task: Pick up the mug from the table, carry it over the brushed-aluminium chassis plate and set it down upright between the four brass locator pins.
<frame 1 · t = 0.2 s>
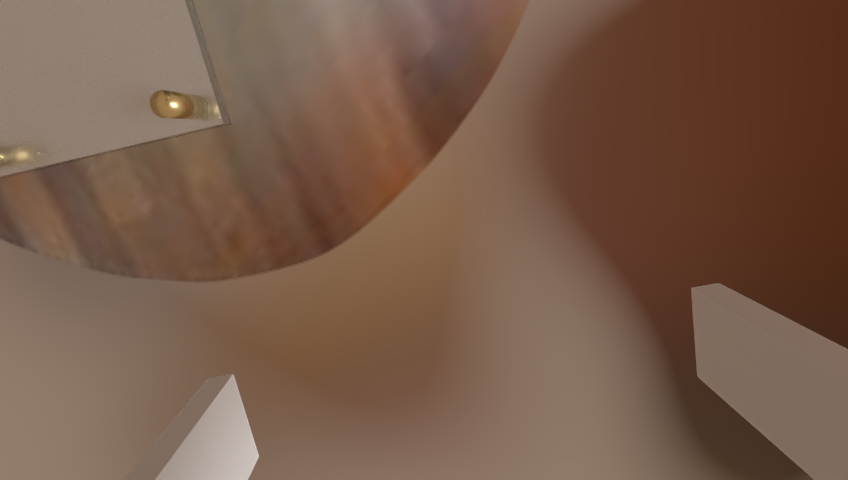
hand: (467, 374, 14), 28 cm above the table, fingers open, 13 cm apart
chassis: (73, 48, 37), on the table
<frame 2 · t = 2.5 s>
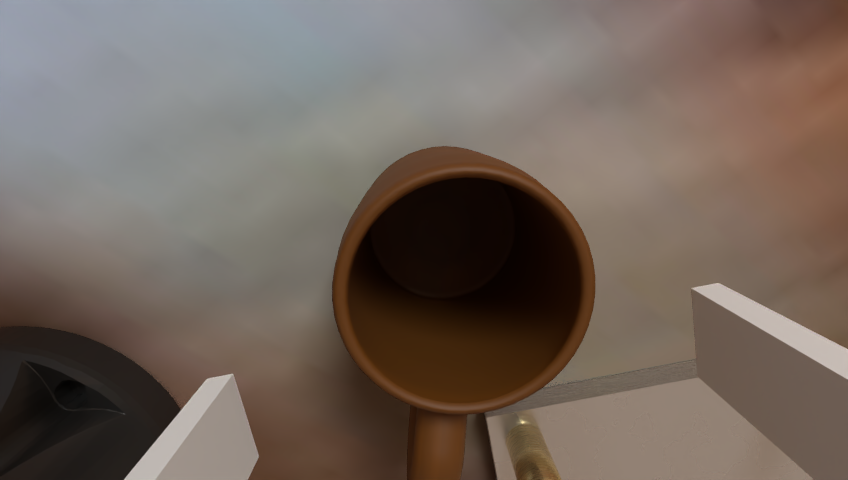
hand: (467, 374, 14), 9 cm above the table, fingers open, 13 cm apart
mug: (436, 272, 23), on the table
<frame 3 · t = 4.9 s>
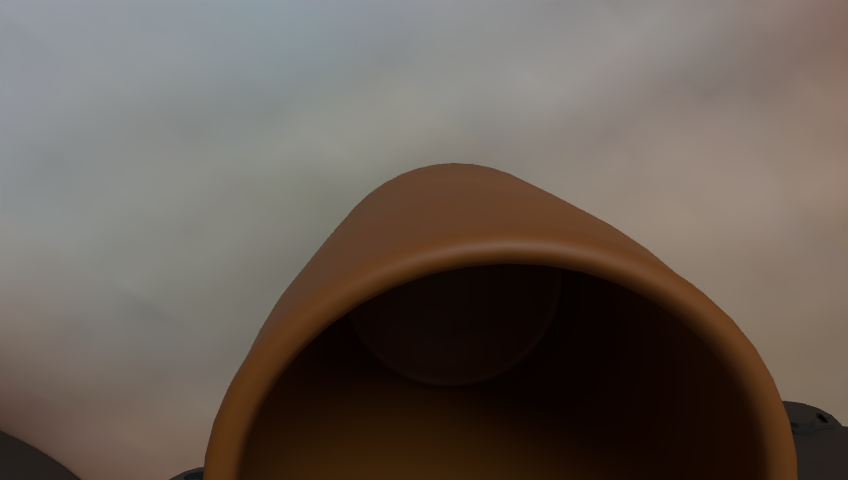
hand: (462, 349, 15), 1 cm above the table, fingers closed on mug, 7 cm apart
mug: (442, 345, 16), on the table, touching gripper
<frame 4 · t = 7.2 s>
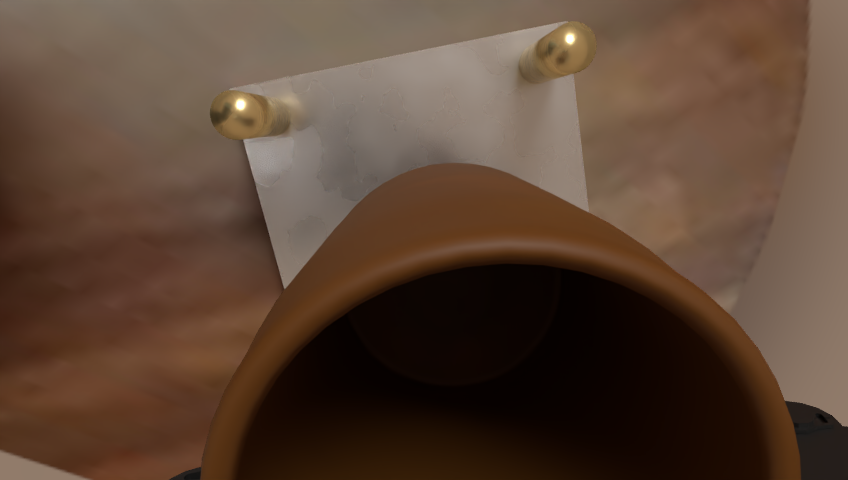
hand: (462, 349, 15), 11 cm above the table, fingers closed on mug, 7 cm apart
mug: (442, 345, 16), point 11 cm above the table, touching gripper
chassis: (435, 251, 26), on the table
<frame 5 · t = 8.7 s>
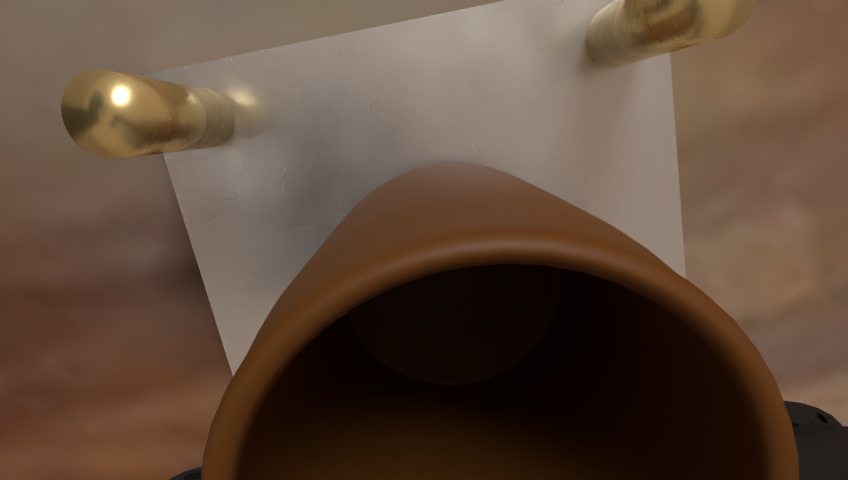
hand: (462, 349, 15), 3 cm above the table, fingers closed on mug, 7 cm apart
mug: (442, 345, 16), point 3 cm above the table, touching gripper
chassis: (452, 312, 18), on the table
when the fingers open (3 cm above the table, at t = 9.6 s): mug stays where it is, resting on chassis.
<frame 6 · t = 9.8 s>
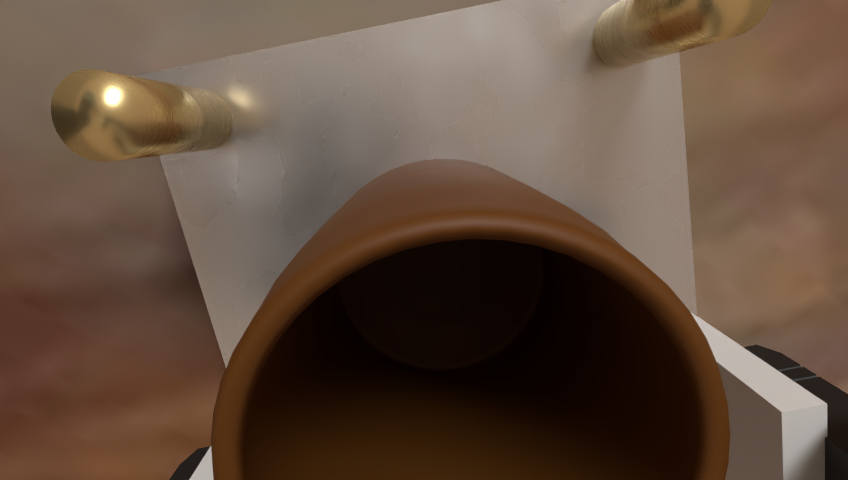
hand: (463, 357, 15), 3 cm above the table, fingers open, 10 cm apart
mug: (432, 332, 17), point 1 cm above the table, touching chassis
chassis: (455, 317, 18), on the table
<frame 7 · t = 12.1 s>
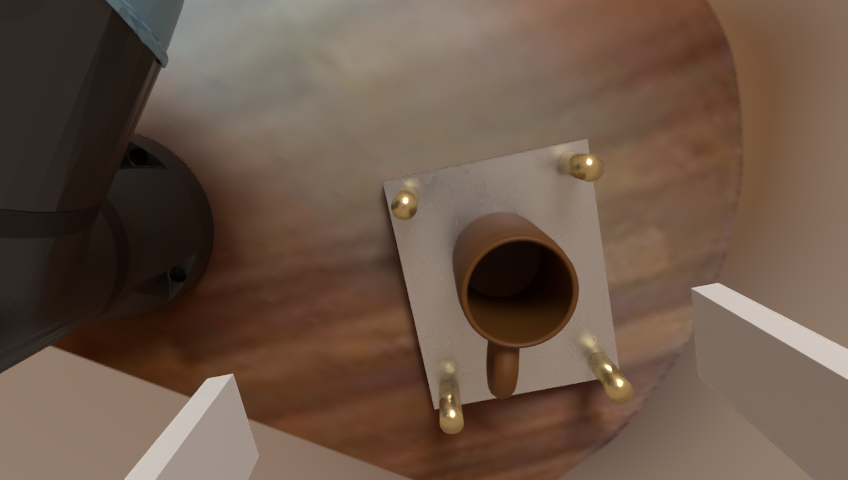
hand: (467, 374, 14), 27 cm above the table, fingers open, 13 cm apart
mug: (494, 282, 40), point 1 cm above the table, touching chassis
chassis: (503, 277, 41), on the table
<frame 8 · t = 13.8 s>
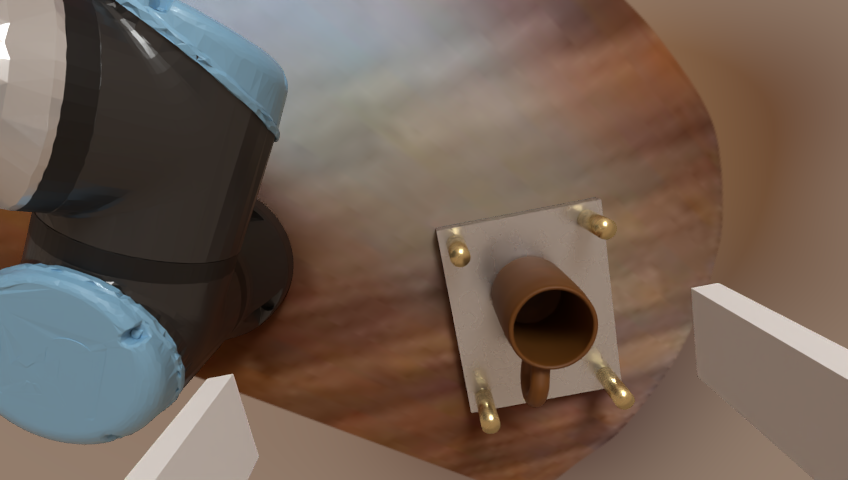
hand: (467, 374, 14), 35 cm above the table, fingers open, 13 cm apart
mug: (523, 310, 49), point 1 cm above the table, touching chassis
chassis: (529, 306, 50), on the table
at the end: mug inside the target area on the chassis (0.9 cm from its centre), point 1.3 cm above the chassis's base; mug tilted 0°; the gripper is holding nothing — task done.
